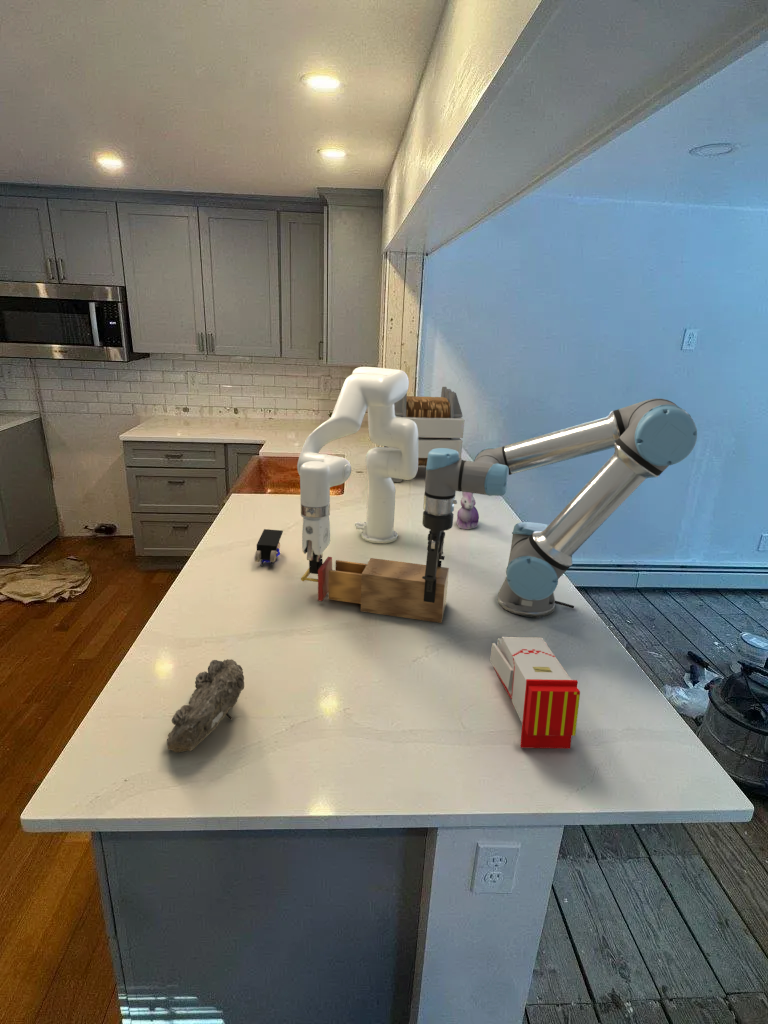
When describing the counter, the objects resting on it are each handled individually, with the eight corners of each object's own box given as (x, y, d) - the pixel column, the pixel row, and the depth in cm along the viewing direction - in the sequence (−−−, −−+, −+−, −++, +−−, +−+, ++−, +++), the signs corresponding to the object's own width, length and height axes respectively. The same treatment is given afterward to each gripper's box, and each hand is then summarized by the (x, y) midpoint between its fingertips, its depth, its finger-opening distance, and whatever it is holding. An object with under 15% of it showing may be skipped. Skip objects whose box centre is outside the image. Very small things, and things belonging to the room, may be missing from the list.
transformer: (382, 463, 289) (386, 382, 275) (445, 464, 293) (451, 384, 279) (390, 482, 257) (394, 392, 243) (460, 483, 261) (468, 394, 247)
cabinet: (360, 611, 148) (361, 573, 144) (369, 593, 157) (370, 557, 153) (441, 623, 144) (444, 584, 140) (445, 604, 153) (449, 567, 150)
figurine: (464, 531, 204) (468, 492, 199) (448, 522, 212) (452, 484, 207) (485, 528, 208) (490, 489, 203) (469, 519, 217) (473, 481, 212)
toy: (539, 620, 128) (589, 687, 99) (533, 674, 131) (581, 755, 102) (485, 619, 128) (521, 686, 99) (481, 673, 131) (514, 755, 101)
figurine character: (277, 573, 169) (284, 548, 183) (276, 551, 166) (283, 527, 179) (254, 573, 169) (263, 547, 182) (252, 551, 166) (262, 527, 179)
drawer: (299, 598, 151) (298, 567, 148) (310, 583, 159) (310, 554, 156) (391, 611, 147) (393, 580, 144) (398, 595, 155) (399, 565, 152)
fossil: (192, 660, 117) (244, 628, 112) (224, 691, 120) (276, 661, 115) (142, 746, 98) (202, 712, 93) (182, 779, 101) (242, 748, 96)
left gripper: (319, 521, 139) (320, 587, 146) (337, 501, 153) (337, 562, 160) (291, 517, 141) (292, 583, 147) (311, 498, 154) (311, 559, 161)
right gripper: (448, 529, 129) (441, 615, 136) (457, 499, 149) (450, 575, 157) (416, 525, 130) (410, 610, 138) (429, 496, 151) (424, 571, 158)
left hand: (315, 572), depth 153 cm, fingers closed
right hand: (431, 591), depth 147 cm, fingers closed on cabinet, 10 cm apart
